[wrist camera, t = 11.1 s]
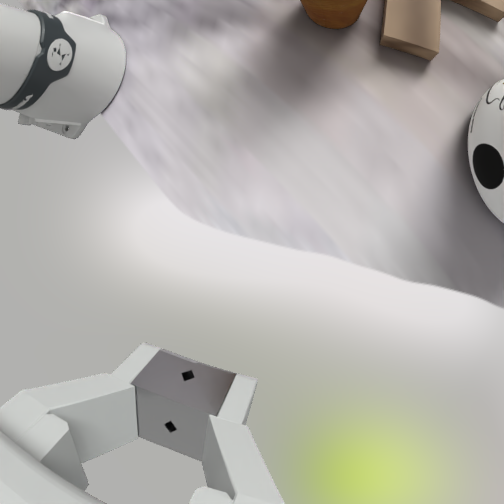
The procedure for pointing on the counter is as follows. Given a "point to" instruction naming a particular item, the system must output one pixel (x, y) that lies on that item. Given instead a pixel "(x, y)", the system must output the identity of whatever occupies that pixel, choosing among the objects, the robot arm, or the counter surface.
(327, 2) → the disposable coffee cup
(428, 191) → the counter surface
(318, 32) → the counter surface
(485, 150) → the milk container
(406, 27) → the walnut T block
